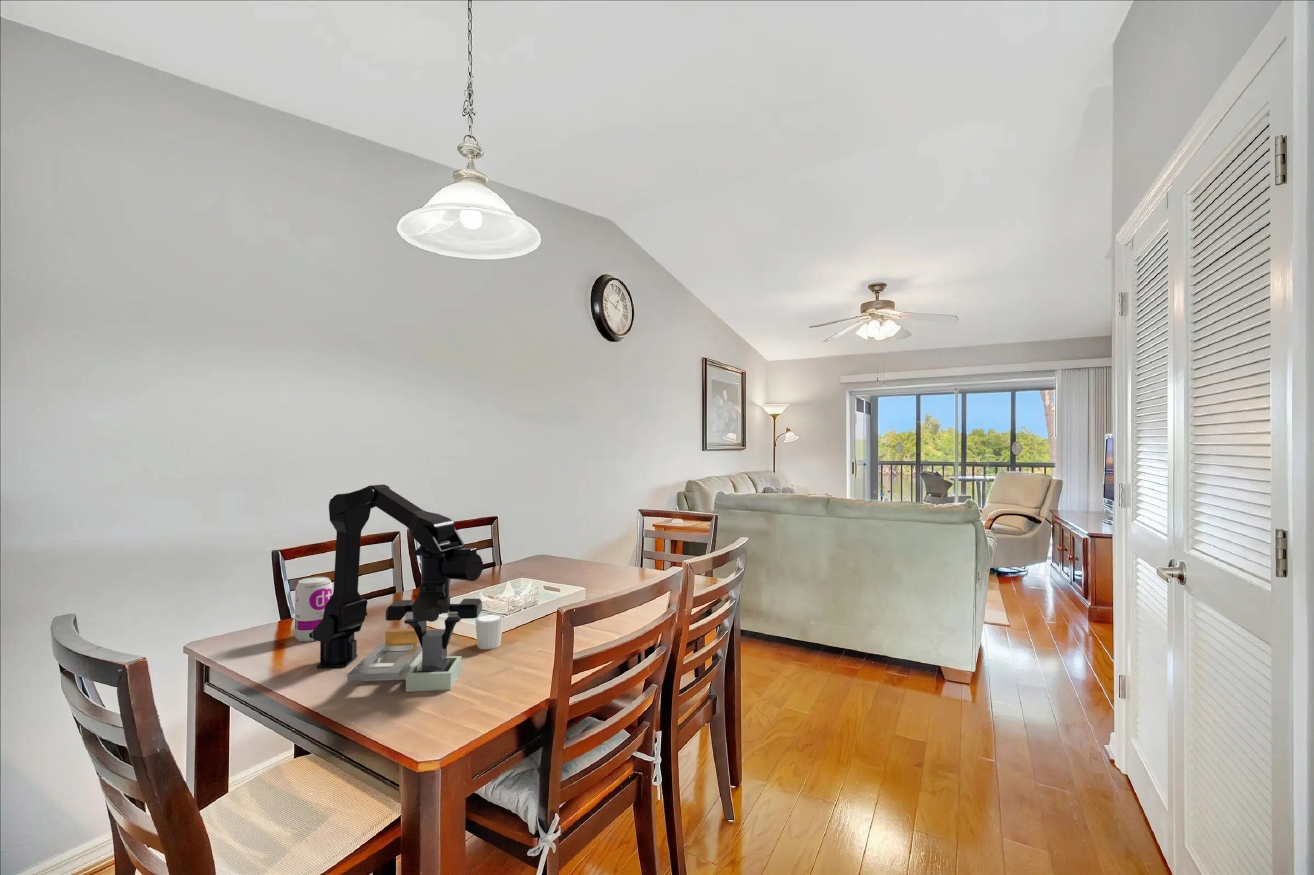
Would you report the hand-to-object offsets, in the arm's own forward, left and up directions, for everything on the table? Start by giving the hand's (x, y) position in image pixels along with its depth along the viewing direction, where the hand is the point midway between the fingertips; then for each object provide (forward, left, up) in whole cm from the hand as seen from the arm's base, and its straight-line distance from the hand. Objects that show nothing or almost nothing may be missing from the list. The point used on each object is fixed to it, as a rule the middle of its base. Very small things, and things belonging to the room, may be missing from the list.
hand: (434, 648), depth 119 cm
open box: (0, 0, -7) cm, 7 cm away
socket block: (-10, +6, -7) cm, 14 cm away
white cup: (+8, +20, -7) cm, 23 cm away
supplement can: (-39, +30, -7) cm, 50 cm away
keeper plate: (-10, +3, -4) cm, 12 cm away
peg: (0, 0, -6) cm, 6 cm away
